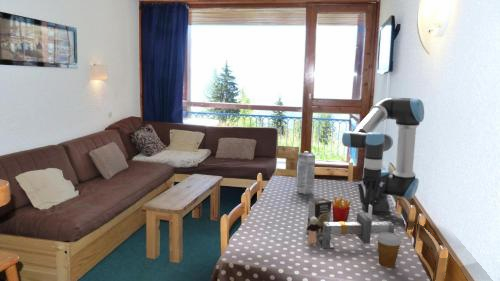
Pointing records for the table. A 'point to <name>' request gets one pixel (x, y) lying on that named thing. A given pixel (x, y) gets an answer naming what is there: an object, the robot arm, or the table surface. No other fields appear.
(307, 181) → the juice carton
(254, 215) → the table surface
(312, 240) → the grandmother figurine
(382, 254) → the disposable coffee cup
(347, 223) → the grey crossbar beam
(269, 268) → the table surface
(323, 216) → the coffee box
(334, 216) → the french fries
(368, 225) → the grey flat piece
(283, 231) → the table surface
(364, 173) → the robot arm
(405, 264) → the table surface
